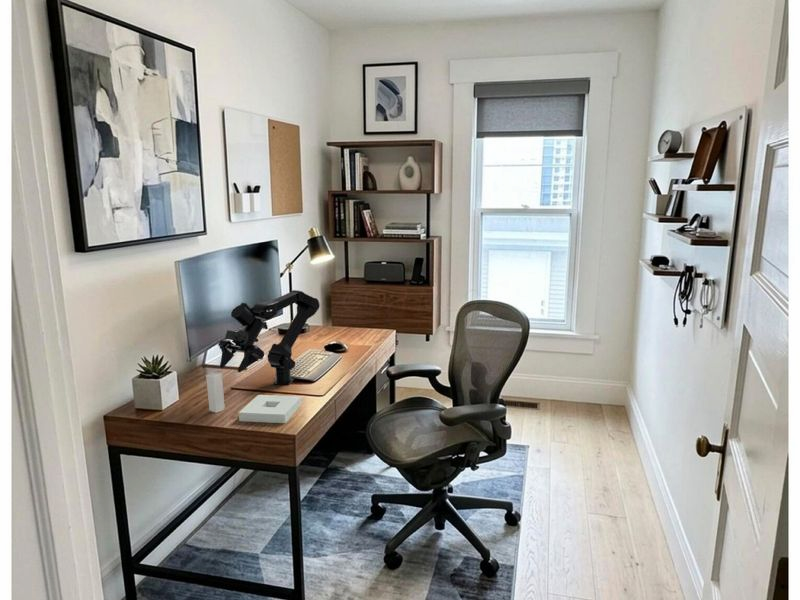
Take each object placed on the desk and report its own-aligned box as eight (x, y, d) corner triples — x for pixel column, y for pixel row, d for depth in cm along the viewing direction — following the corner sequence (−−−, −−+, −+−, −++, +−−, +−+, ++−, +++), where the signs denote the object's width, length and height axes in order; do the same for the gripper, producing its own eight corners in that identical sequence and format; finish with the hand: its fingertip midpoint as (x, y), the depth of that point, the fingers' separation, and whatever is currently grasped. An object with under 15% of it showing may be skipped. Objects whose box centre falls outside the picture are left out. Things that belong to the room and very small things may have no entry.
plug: (217, 407, 189) (214, 372, 186) (224, 409, 187) (221, 373, 184) (209, 410, 186) (206, 375, 183) (216, 412, 184) (213, 377, 181)
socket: (259, 402, 192) (258, 394, 192) (301, 404, 190) (301, 396, 189) (239, 421, 177) (238, 412, 176) (285, 423, 174) (284, 414, 174)
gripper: (220, 318, 196) (197, 355, 188) (256, 323, 186) (233, 362, 179) (238, 334, 204) (217, 370, 197) (273, 340, 194) (253, 378, 187)
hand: (229, 369), depth 189 cm, fingers open, 9 cm apart
